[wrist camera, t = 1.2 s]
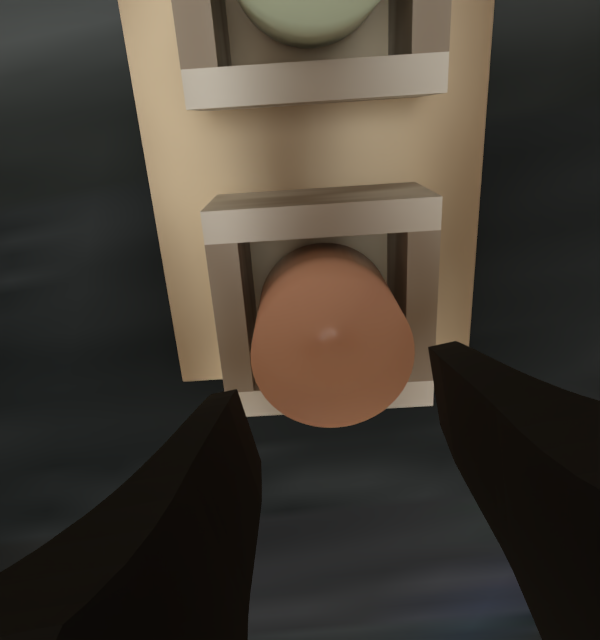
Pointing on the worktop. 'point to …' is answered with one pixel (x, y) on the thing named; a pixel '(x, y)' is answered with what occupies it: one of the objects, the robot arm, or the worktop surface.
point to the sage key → (308, 19)
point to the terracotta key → (330, 338)
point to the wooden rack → (311, 165)
